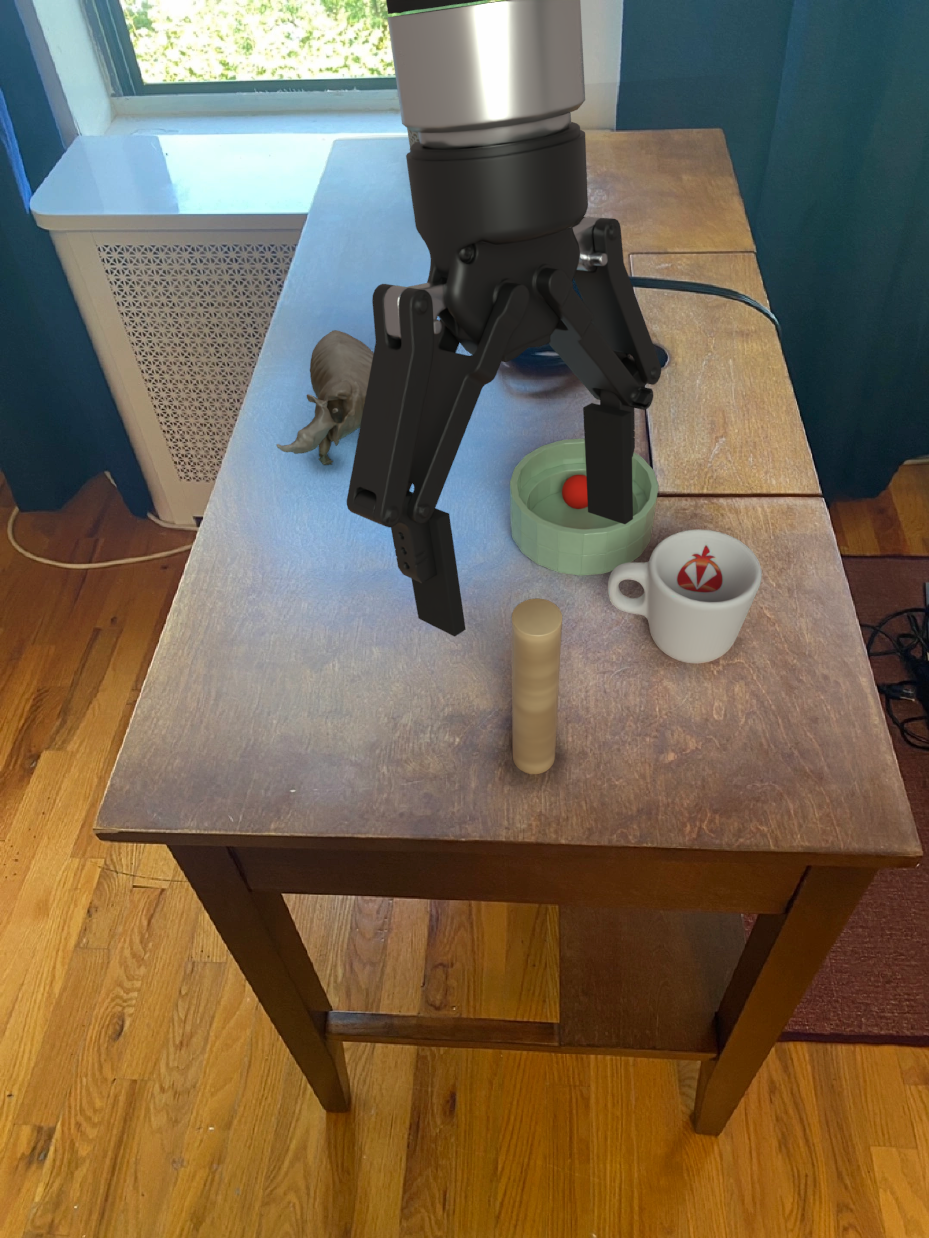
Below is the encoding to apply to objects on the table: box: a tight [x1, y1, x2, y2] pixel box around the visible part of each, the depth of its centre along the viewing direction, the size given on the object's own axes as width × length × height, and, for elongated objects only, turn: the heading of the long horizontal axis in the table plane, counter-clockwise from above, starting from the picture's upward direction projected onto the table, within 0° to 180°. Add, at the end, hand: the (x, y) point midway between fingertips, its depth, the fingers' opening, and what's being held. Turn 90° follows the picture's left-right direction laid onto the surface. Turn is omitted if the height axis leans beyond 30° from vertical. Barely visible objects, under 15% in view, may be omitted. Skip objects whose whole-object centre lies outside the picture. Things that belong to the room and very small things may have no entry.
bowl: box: [509, 437, 660, 577], centre depth 78 cm, size 12×12×6 cm
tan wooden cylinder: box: [511, 598, 563, 775], centre depth 60 cm, size 3×3×15 cm
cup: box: [607, 528, 763, 664], centre depth 69 cm, size 11×8×8 cm
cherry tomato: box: [562, 475, 588, 509], centre depth 81 cm, size 3×3×3 cm
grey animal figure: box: [276, 329, 374, 466], centre depth 88 cm, size 8×14×15 cm
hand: (532, 566), depth 50 cm, fingers open, 13 cm apart
